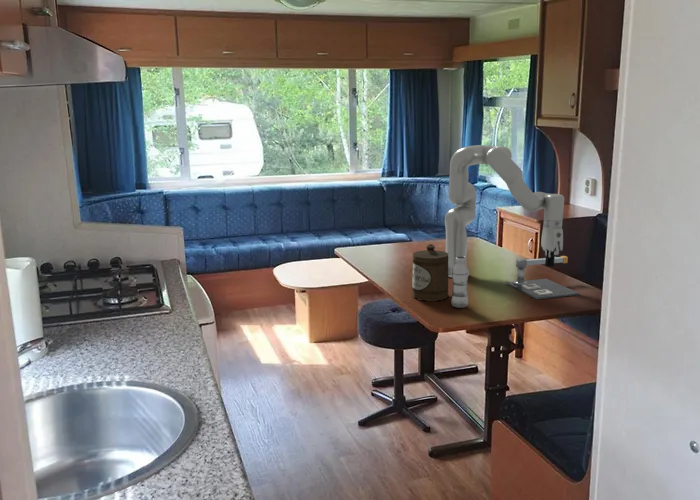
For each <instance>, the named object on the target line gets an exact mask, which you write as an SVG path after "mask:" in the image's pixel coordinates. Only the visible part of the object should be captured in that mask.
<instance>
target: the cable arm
mask: <svg viewBox="0 0 700 500" xmlns="http://www.w3.org/2000/svg"><path fill="white" fill-rule="evenodd" d="M568 260H569V257H568V256H566V255H560V256H558V257H557V256H555V258H554V264H559V263H562V264H568ZM545 261H546V257H543V258H530V259H525V258H516V259H515V267H516V268H525V269H526V268H527V266H535V265H545Z"/></svg>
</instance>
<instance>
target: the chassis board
mask: <svg viewBox="0 0 700 500" xmlns="http://www.w3.org/2000/svg"><path fill="white" fill-rule="evenodd" d="M526 281H527V285H528V284H535V285H538V286H540V287H541V288H538V289H526V288H524V287H522V285H516V284H514V283H513V281H510V282H509V281H508V282H506V285H507V286H509V287H511V288H513V289H515V290H517V291H519V292H521V293H523V294H525V295H527V296H530V297H531V298H532V299H535V300H546V299H554V298H555V299H556V298H565V297H574V296H579V295H581V293H580V292H578V291H576V290H573V289H571V288H569V287H566V286H564V285H561V284H559V283H557V282H555V281H553V280H551V279H548V278H540V279H529V280H526ZM545 289H546V290H548V291H551V292H553V294H548V295H538V294H536V293H534V292H533V291H535V290H545Z"/></svg>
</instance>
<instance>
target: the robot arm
mask: <svg viewBox="0 0 700 500" xmlns="http://www.w3.org/2000/svg"><path fill="white" fill-rule="evenodd" d="M512 158H513V157H512V152H511V150H510V149H509V148H508V147H506V146H503V145H481V144H477V145H469V146H464V147H462V148H459V149H457V150H456V151H455V152H454V153H453V155H452V156H451V158H450V161H449V178H448V193H447V194H448V200H449V202H450V203H451V204H452V205H456V206H454V207H453V208H450V209H449V210H448V211H447V212H446V214H445V216H444V227H445V252H446V253H448V278H452V268H453V266H454V265H455V264H456V262H455V260H456V257H458V256H462V257H465V258H466V259H465V261H466V262H465V265H466V266H467V248H468V247H467V245H468V234H467V229H466V226H468V225H470V224H471V223H473V221H474V220H475V218H476V217H475V216H476V205H477V191H476V188H475V186H474V185H473V184H472V183H471V182H469V167H470V166H476V165H489V166H490V167H491V169H493V171H494V172H495V173H496V174H497V175H498V176H499V177H500V179H502V181H503V182H504V183H505V184H506V187H507V188H508V190H509V192H510V194H511V195H512V197H513V198H514V200H515V201H516V202H517V203H518V204H519V205H520V206H521V207H522V208H523V209H524V210H526V211H527V212H530V213H534V212H537V211H541V210H544V211H543V225H542V226H543V227H542V233H541V241H540V244H541V245H540V246H541V248H542V250H543V252H545V253H544V256H545V258H546V261H545V264H544V265H545V266H546V267H554V266H555V263H554V258H555V257H557V256H559V254H560V252H562V251H563V249H564V248H563V247H564V229H563V228H562V227H563V220H564V218H563V217H564V207H565V196H564V195H563V194H559V193H548V192H547V193H546V192H542V191H535V192H533V191H532V190H531V189H530V188H529V187H528V185H527V184H526V182H525V181H524V178H523V177H524V176H523V170H522V169H521V168H520V167H519V165H517V164H516V163H515V161H514V160H513V159H512ZM469 276H470V272H469V273H468V277H469Z"/></svg>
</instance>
